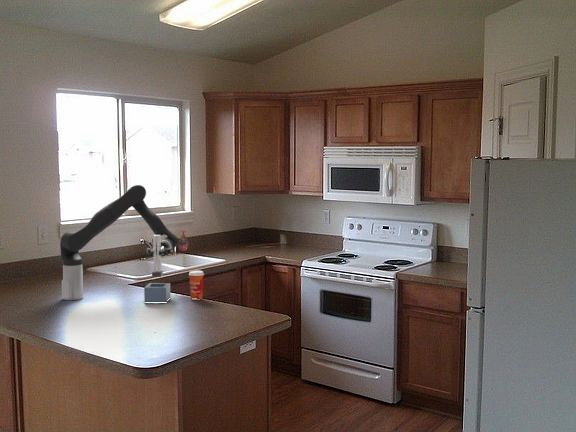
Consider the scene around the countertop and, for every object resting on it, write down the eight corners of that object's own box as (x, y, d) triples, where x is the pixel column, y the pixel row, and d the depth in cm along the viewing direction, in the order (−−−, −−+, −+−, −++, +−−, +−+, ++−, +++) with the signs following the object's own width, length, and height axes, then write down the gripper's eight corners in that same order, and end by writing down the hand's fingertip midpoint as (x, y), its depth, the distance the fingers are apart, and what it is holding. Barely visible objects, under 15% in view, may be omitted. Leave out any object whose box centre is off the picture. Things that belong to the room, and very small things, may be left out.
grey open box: (166, 303, 305) (166, 287, 304) (144, 303, 305) (144, 287, 304) (170, 299, 316) (170, 283, 315) (149, 298, 316) (149, 283, 315)
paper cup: (185, 299, 314) (185, 272, 313) (194, 296, 321) (194, 269, 320) (198, 301, 310) (198, 273, 309) (207, 298, 317) (207, 271, 316)
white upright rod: (152, 276, 307) (151, 235, 305) (154, 274, 311) (153, 234, 309) (161, 276, 307) (160, 235, 305) (162, 274, 311) (162, 234, 309)
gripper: (149, 240, 322) (141, 245, 305) (176, 240, 322) (170, 245, 305) (149, 255, 323) (141, 261, 306) (176, 255, 323) (170, 261, 305)
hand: (155, 253), depth 305 cm, fingers closed on white upright rod, 3 cm apart
